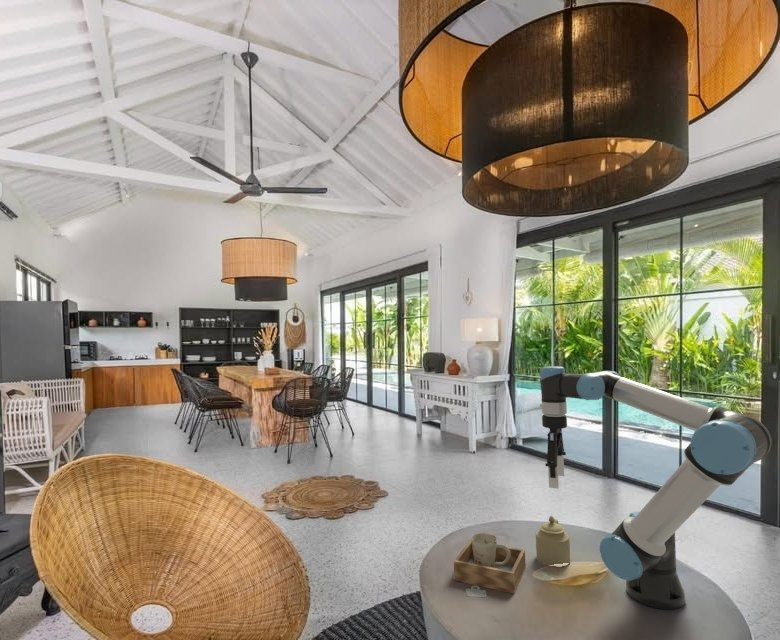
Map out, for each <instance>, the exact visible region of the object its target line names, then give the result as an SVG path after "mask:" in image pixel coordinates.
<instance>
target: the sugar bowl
mask: <svg viewBox="0 0 780 640" xmlns="http://www.w3.org/2000/svg"><path fill="white" fill-rule="evenodd" d="M538 528H539V530H537V531H536V532H535V551H536V560H537V561H538V562H539V563H540V564H542V565H544V566H547V565H554V564H563V563H569V564H570V563H571V545H570V536H569V534H568V533H567V532H566V529H565V527H563V526H562V525H560V523H559V521H558V519H556V518H555V517H554V516H553V515H550V516H549V517H548V522H544V523H543V524H541V525H539V527H538Z"/></svg>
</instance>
